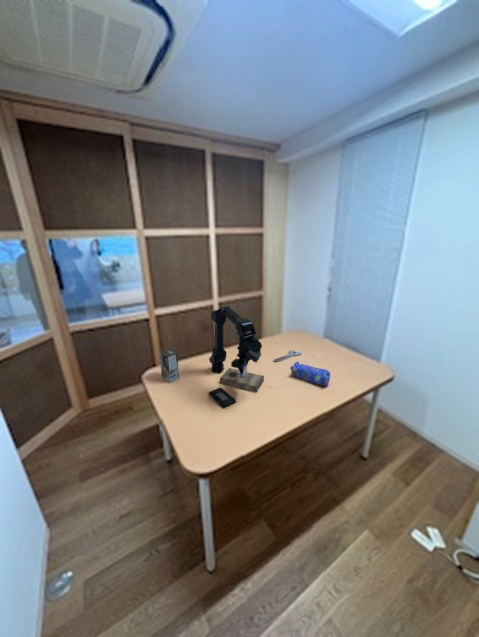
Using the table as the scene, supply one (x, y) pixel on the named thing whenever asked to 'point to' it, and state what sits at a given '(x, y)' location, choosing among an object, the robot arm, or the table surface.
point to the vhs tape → (222, 397)
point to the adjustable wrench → (292, 353)
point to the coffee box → (169, 365)
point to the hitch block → (242, 380)
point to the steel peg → (244, 373)
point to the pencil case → (310, 373)
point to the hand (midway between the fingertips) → (243, 372)
